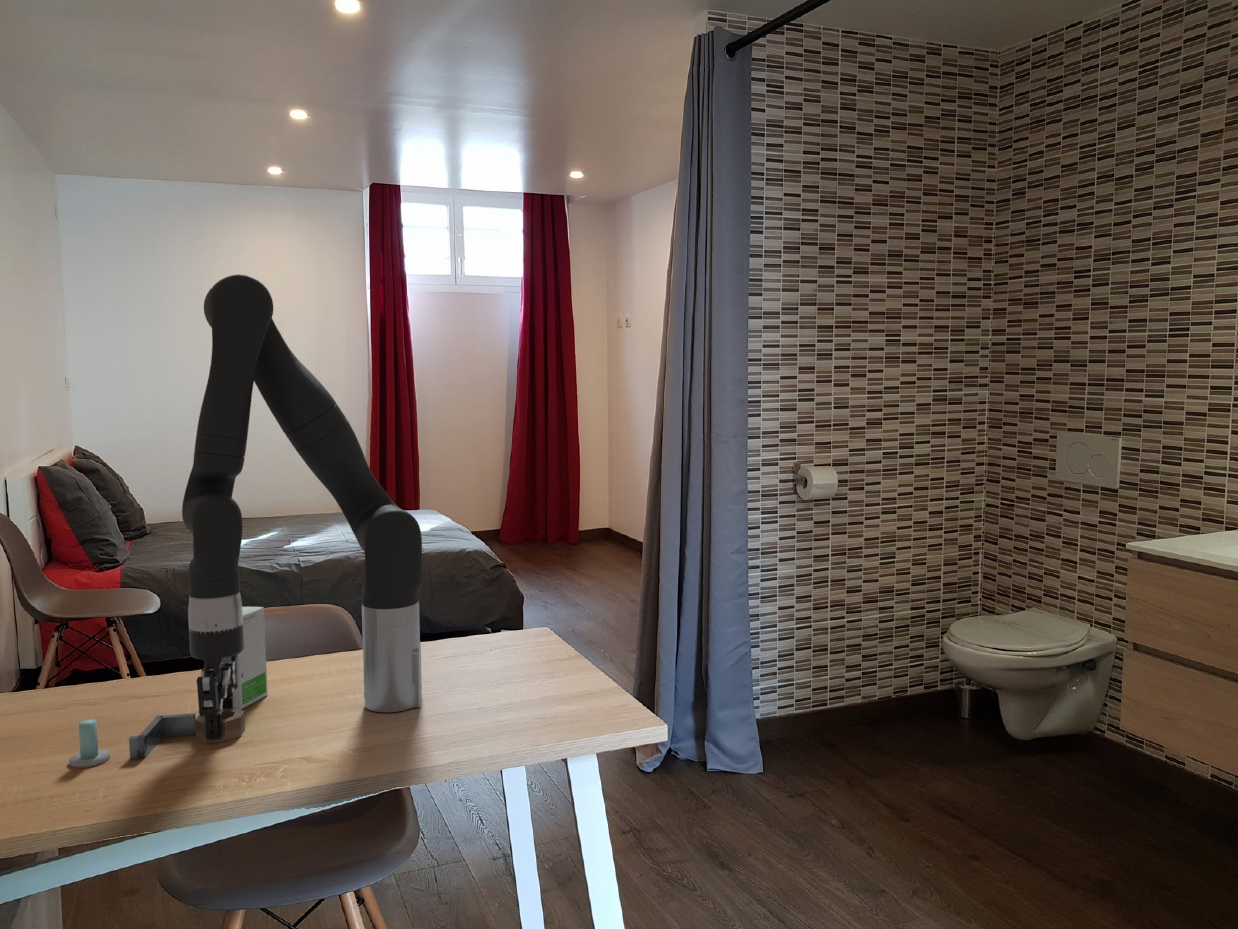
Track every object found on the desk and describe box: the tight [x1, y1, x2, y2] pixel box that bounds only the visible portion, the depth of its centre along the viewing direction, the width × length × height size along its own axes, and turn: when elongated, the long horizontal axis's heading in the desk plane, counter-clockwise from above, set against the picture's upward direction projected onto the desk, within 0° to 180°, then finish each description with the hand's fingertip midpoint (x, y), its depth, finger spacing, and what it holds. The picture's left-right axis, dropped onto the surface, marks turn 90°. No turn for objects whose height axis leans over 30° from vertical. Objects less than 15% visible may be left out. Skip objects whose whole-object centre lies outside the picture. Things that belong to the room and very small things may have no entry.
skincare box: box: [209, 606, 268, 710], centre depth 153 cm, size 8×7×16 cm
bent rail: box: [128, 713, 197, 760], centre depth 135 cm, size 6×9×3 cm
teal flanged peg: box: [68, 719, 111, 769], centre depth 130 cm, size 5×5×6 cm
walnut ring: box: [195, 708, 246, 744], centre depth 139 cm, size 6×6×3 cm
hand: (220, 729), depth 139 cm, fingers closed on walnut ring, 6 cm apart
